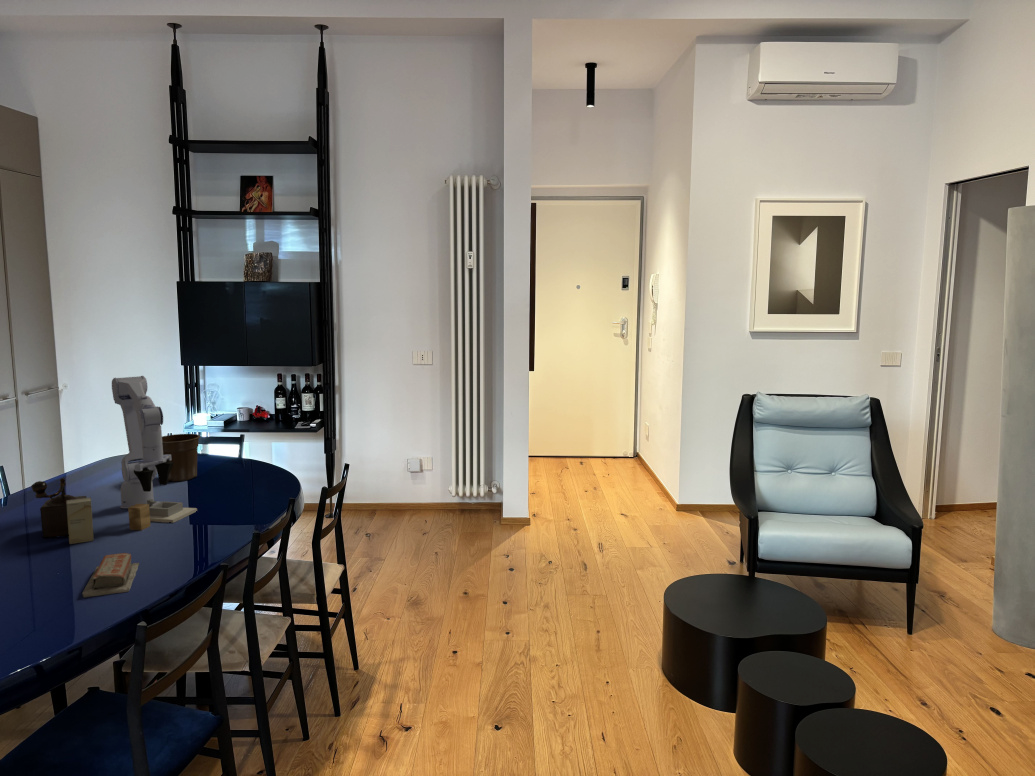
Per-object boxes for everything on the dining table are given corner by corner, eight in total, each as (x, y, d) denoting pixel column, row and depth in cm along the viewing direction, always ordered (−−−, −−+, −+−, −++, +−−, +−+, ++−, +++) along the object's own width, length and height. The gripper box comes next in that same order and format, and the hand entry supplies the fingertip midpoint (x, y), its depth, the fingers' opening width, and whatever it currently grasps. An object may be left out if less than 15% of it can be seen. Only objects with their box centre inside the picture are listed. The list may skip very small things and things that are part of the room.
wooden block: (129, 529, 217) (128, 507, 216) (139, 525, 221) (137, 503, 220) (141, 530, 216) (139, 508, 215) (150, 526, 220) (148, 504, 219)
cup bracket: (133, 520, 225) (132, 505, 225) (159, 508, 237) (158, 494, 236) (173, 522, 223) (172, 507, 222) (197, 511, 235) (196, 496, 234)
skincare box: (69, 544, 204) (65, 503, 202) (69, 540, 208) (65, 500, 206) (94, 540, 207) (91, 500, 205) (94, 536, 211) (90, 496, 209)
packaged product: (95, 554, 184) (138, 549, 188) (96, 571, 185) (139, 566, 189) (80, 580, 168) (128, 574, 171) (82, 599, 168) (129, 593, 172)
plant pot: (149, 478, 276) (146, 437, 274) (191, 470, 288) (188, 431, 286) (167, 486, 265) (164, 443, 263) (209, 477, 277) (207, 437, 275)
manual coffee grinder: (48, 528, 218) (43, 471, 216) (89, 524, 222) (84, 468, 220) (34, 544, 204) (28, 484, 201) (78, 540, 208) (73, 480, 205)
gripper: (147, 451, 215) (151, 494, 217) (178, 441, 229) (181, 482, 231) (127, 450, 216) (130, 493, 218) (159, 440, 230) (162, 481, 232)
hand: (155, 487), depth 225 cm, fingers open, 7 cm apart
